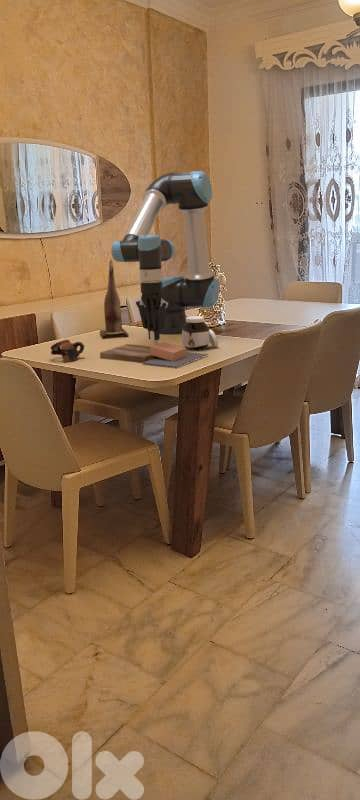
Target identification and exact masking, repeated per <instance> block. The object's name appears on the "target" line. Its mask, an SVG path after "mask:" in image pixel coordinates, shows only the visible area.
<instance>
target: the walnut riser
mask: <svg viewBox="0 0 360 800" xmlns="http://www.w3.org/2000/svg"><path fill="white" fill-rule="evenodd" d="M150 346H151V345H140V344H131V343H129V344H128V343H126V344H123V345H120V346H117V347H113V348H111V349H107V350H103V351H101V352H100V353H99V357H100V359H106V360H116V361H122V362H123V361H125V362H134V363H140V364H141V363H142V364H143V362H146V361H149V360H152V359H154V358H157V357H156V356H153V355H150Z"/></svg>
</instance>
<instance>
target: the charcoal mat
mask: <svg viewBox="0 0 360 800" xmlns="http://www.w3.org/2000/svg"><path fill="white" fill-rule="evenodd" d="M206 355H208V356H209V354H208V353H199V352H189V351H186V357H183V358H181V359H178V360H175V361H170V360H167V359H163V358H160V357H157V358H154V359H152V360H149V361H146V362H143V363H142V365H144V366H152V365H157V366H156V367H161V366H168V367H167V368H170V367H179V366H181V365H184V364H186V363H188V362H191V361H193V360H195V359H198V358H201V357H203V356H206ZM206 357H207V356H206ZM201 359H202V358H201ZM191 363H192V362H191ZM186 365H187V364H186ZM184 366H185V365H184ZM181 367H182V366H181ZM179 368H180V367H179Z"/></svg>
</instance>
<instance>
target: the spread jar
mask: <svg viewBox="0 0 360 800" xmlns="http://www.w3.org/2000/svg"><path fill="white" fill-rule="evenodd" d="M186 322H187V323H186V324H185V325H184V326H183V328H182V333H181V339H182V345H183V346H184V347H183V348H187V350H188V349H189V351H200V350H199V349H203V350H205V349H206V348H208V346H209V345H211V346H212V347H213V346H214V347H213V348H215V347H217V346H219V339H218V338H217V335H216V334H215V332H214V331H213V330H212V328H211V329H209V325H208V324H207V323H206V321H205V317H204V316H201V315H200V316H199V315H193V316H191V315H190V316H187V318H186ZM204 348H205V349H204Z"/></svg>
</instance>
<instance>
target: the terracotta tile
mask: <svg viewBox="0 0 360 800" xmlns="http://www.w3.org/2000/svg"><path fill="white" fill-rule="evenodd" d="M149 346H150V355H153V356H156V357H160V358H163V359H167V360H170V361H175V360H178V359H181V358H183V357H186V352H187V350H188V349H187V348H185V347H182V346H180V345H176V344H173V343H172V344H171V343H169V342H165V341H162V342H158V344H156V345H153V346H151V345H149Z"/></svg>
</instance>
